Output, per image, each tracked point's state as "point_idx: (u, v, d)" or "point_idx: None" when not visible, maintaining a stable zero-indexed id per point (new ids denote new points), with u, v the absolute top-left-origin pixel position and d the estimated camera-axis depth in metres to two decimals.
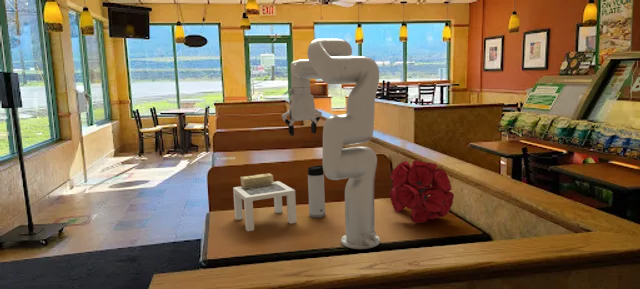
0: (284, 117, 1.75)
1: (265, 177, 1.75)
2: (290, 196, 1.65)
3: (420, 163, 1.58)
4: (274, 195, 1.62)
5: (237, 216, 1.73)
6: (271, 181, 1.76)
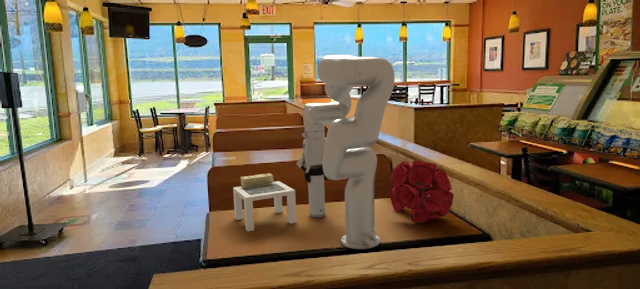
0: (299, 164, 1.68)
1: (265, 177, 1.75)
2: (290, 196, 1.65)
3: (420, 163, 1.58)
4: (274, 195, 1.62)
5: (237, 216, 1.73)
6: (271, 181, 1.76)
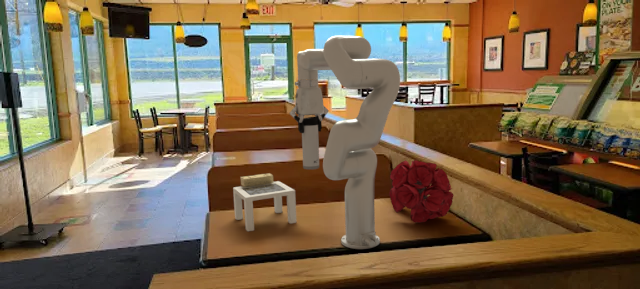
0: (293, 114, 1.65)
1: (265, 177, 1.75)
2: (290, 196, 1.65)
3: (420, 163, 1.59)
4: (274, 195, 1.62)
5: (237, 216, 1.73)
6: (271, 181, 1.76)
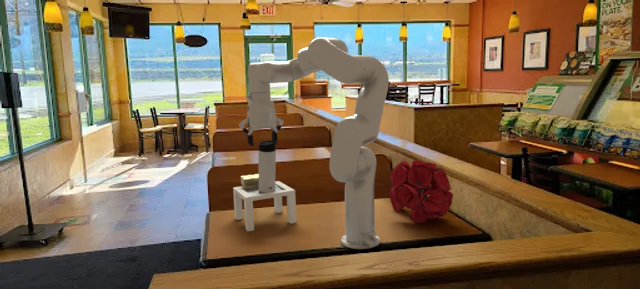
0: (242, 126, 1.59)
1: None
2: (290, 196, 1.65)
3: (419, 163, 1.59)
4: (274, 195, 1.62)
5: (237, 216, 1.73)
6: None
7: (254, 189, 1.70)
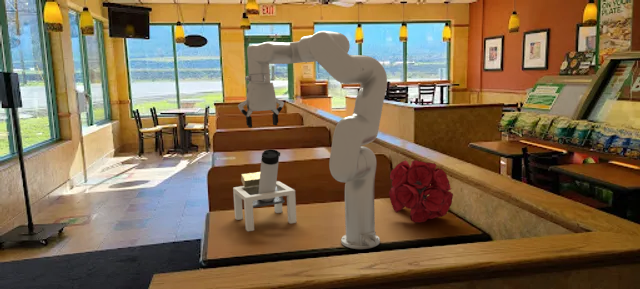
0: (240, 107, 1.58)
1: None
2: (290, 196, 1.65)
3: (419, 163, 1.59)
4: (274, 195, 1.62)
5: (237, 216, 1.73)
6: None
7: (254, 191, 1.70)
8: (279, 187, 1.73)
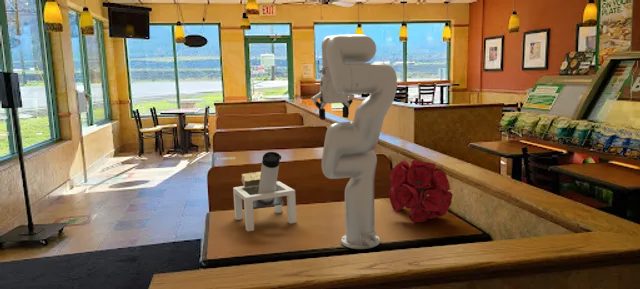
0: (315, 99, 1.62)
1: None
2: (290, 196, 1.65)
3: (419, 163, 1.59)
4: (274, 195, 1.62)
5: (237, 216, 1.73)
6: None
7: (254, 192, 1.70)
8: (279, 187, 1.73)
